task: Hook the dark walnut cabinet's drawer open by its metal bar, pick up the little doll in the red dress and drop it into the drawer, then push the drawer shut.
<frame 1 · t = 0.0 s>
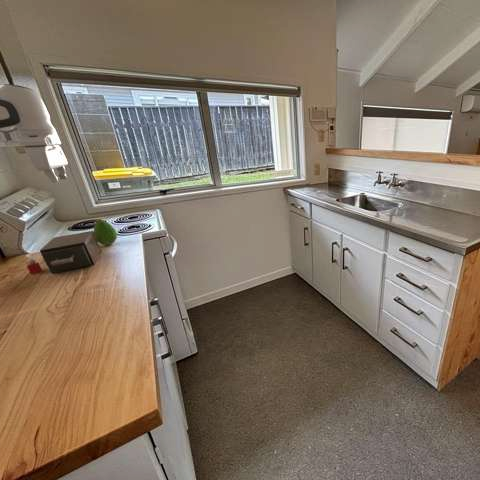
hand: (60, 180, 93), 32 cm above the countertop, tool pointing down, fingers open, 8 cm apart
cabinet: (78, 261, 103), on the countertop
drawer: (70, 255, 98), point 5 cm above the countertop, slide at 0.5 cm
avocado: (109, 244, 119), on the countertop
doll: (36, 272, 96), on the countertop
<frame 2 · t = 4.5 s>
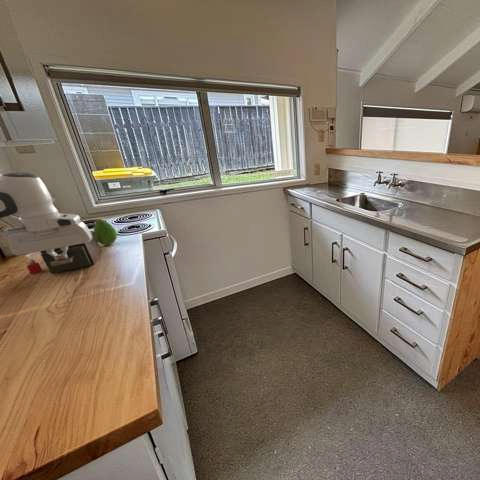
hand: (62, 259, 91), 6 cm above the countertop, tool pointing down, fingers closed, pressing on drawer
drawer: (70, 255, 97), point 5 cm above the countertop, slide at 0.9 cm, touching gripper
everything else where it was.
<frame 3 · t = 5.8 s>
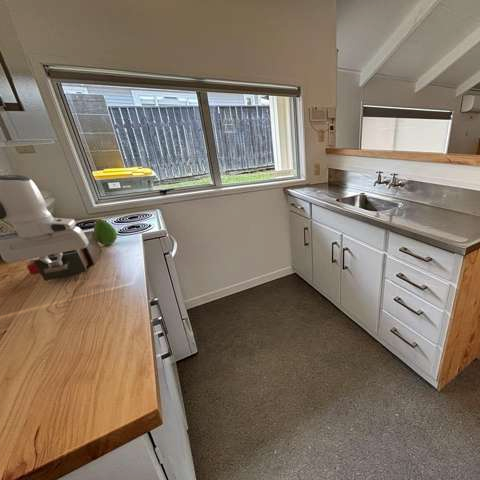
hand: (56, 266, 86), 6 cm above the countertop, tool pointing down, fingers closed, pressing on drawer
drawer: (65, 261, 93), point 5 cm above the countertop, slide at 6.8 cm, touching gripper
everything else where it was.
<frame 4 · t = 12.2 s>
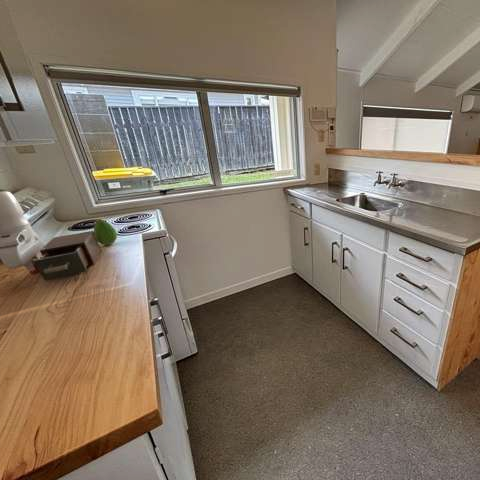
hand: (34, 268, 96), 2 cm above the countertop, tool pointing down, fingers closed on doll, 2 cm apart
drawer: (65, 261, 93), point 5 cm above the countertop, slide at 6.8 cm
doll: (36, 272, 96), on the countertop, touching gripper
everything else where it was.
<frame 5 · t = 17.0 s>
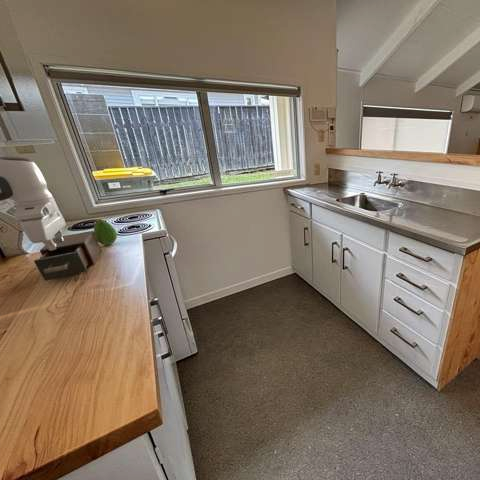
hand: (57, 245, 90), 11 cm above the countertop, tool pointing down, fingers open, 6 cm apart
drawer: (65, 261, 93), point 5 cm above the countertop, slide at 6.8 cm, touching doll
doll: (68, 268, 94), point 2 cm above the countertop, touching drawer
everything else where it was.
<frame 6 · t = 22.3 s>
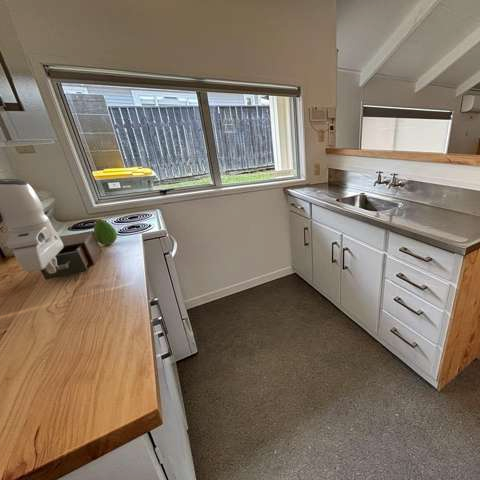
hand: (54, 271, 84), 6 cm above the countertop, tool pointing down, fingers closed
drawer: (65, 260, 93), point 5 cm above the countertop, slide at 5.9 cm, touching doll, gripper
everything else where it was.
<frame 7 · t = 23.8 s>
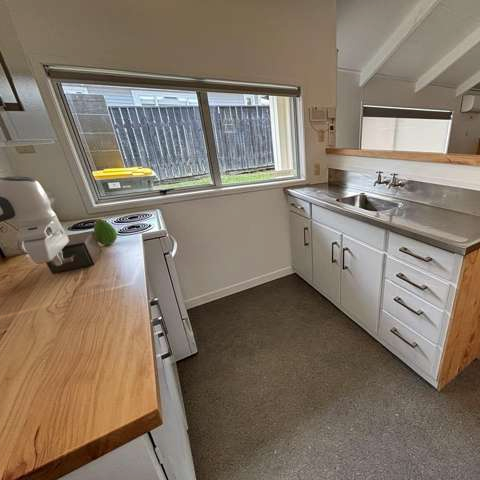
hand: (60, 264, 89), 6 cm above the countertop, tool pointing down, fingers closed
drawer: (70, 254, 98), point 5 cm above the countertop, slide at 0.0 cm, touching cabinet, doll, gripper
doll: (74, 261, 99), point 2 cm above the countertop, touching drawer
everything else where it was.
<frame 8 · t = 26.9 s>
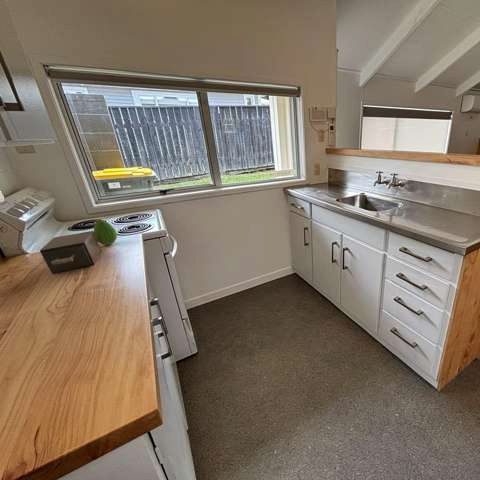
drawer: (70, 254, 98), point 5 cm above the countertop, slide at 0.0 cm, touching doll
everything else where it was.
at the end: drawer pulled out 6.8 cm at the most during the clip, back to where it started at the end; doll inside the target area in the cabinet (4.0 cm from its centre), point 2.0 cm above the cabinet's base; drawer slide at 0.0 cm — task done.
